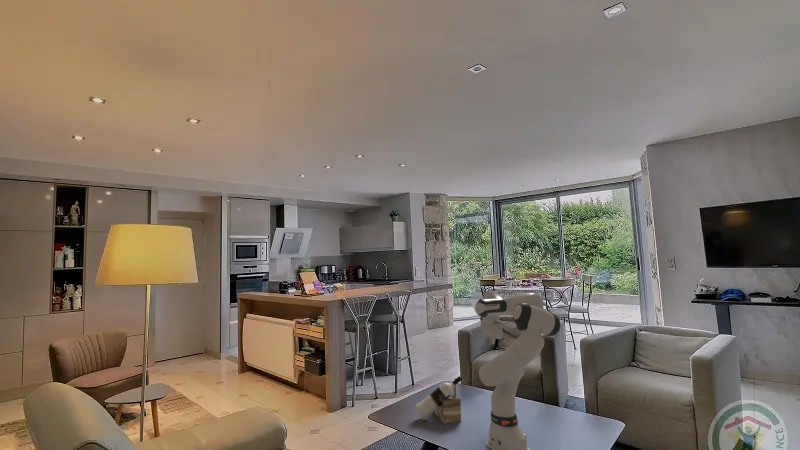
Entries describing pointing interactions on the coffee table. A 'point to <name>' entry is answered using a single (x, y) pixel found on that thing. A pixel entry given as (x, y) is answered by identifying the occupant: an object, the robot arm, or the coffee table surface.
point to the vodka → (436, 398)
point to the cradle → (449, 410)
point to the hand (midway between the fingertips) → (492, 343)
